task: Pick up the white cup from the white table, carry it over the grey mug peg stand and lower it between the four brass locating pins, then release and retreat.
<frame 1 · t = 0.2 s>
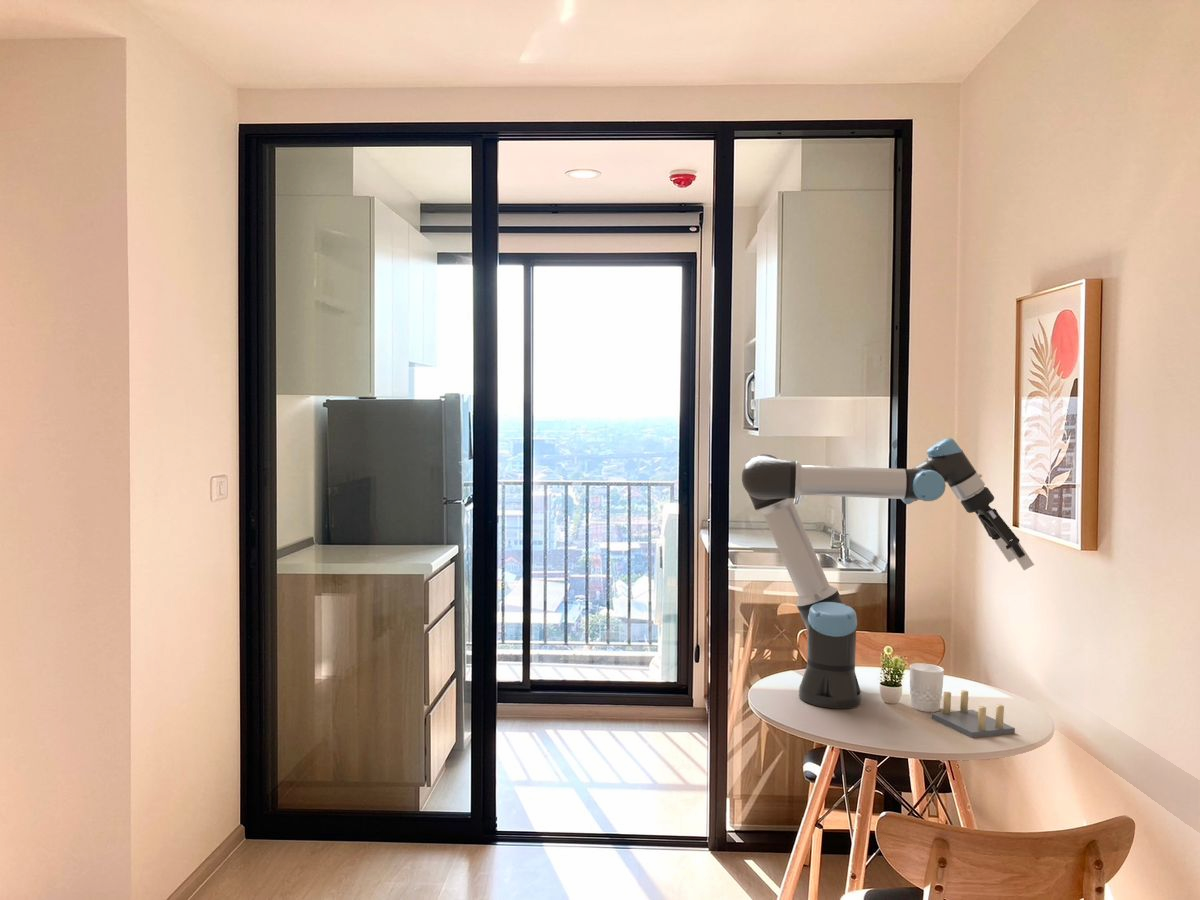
hand: (1021, 563, 212), 35 cm above the table, tool tilted 35°, fingers open, 13 cm apart
white cup: (925, 708, 205), on the table
grey mug peg stand: (972, 725, 192), on the table
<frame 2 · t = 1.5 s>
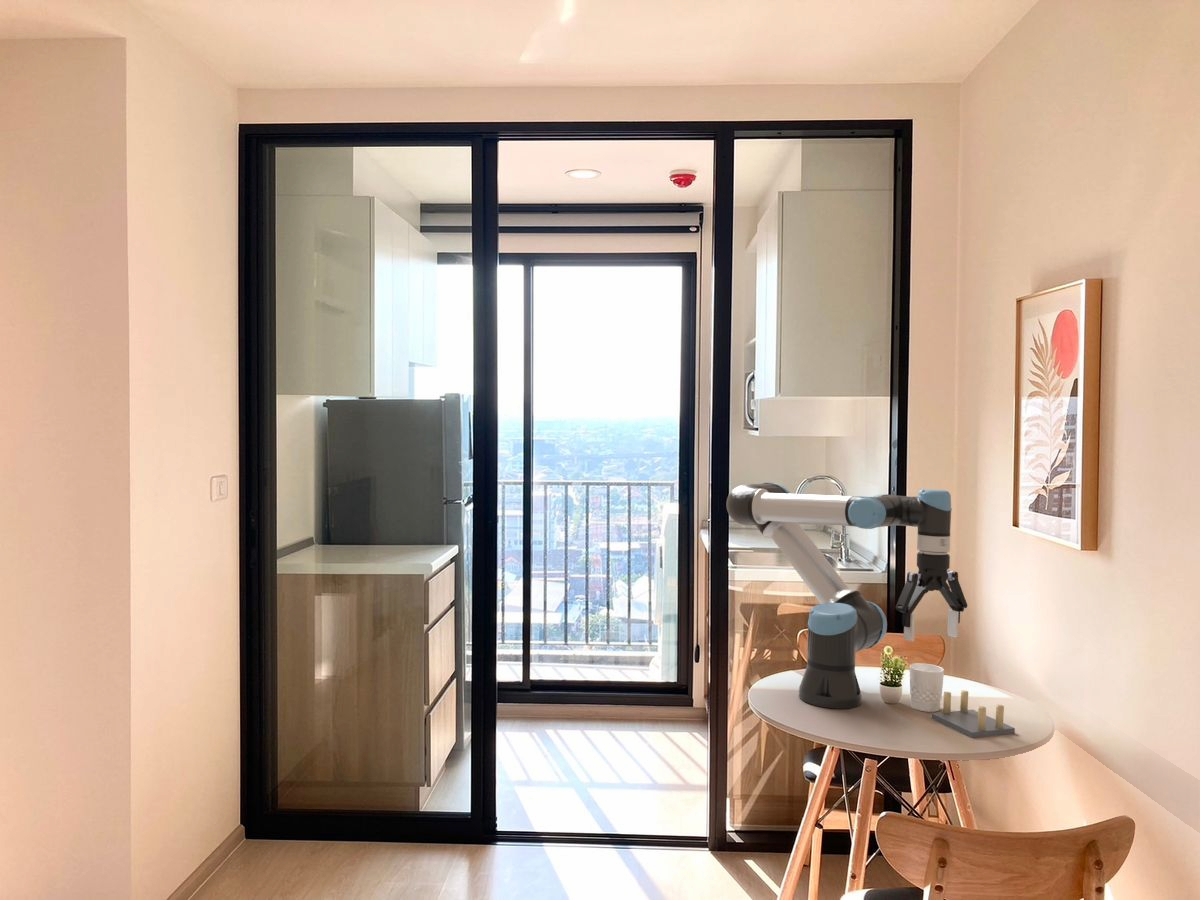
hand: (931, 638, 204), 17 cm above the table, tool pointing down, fingers open, 13 cm apart
nothing on the table moved.
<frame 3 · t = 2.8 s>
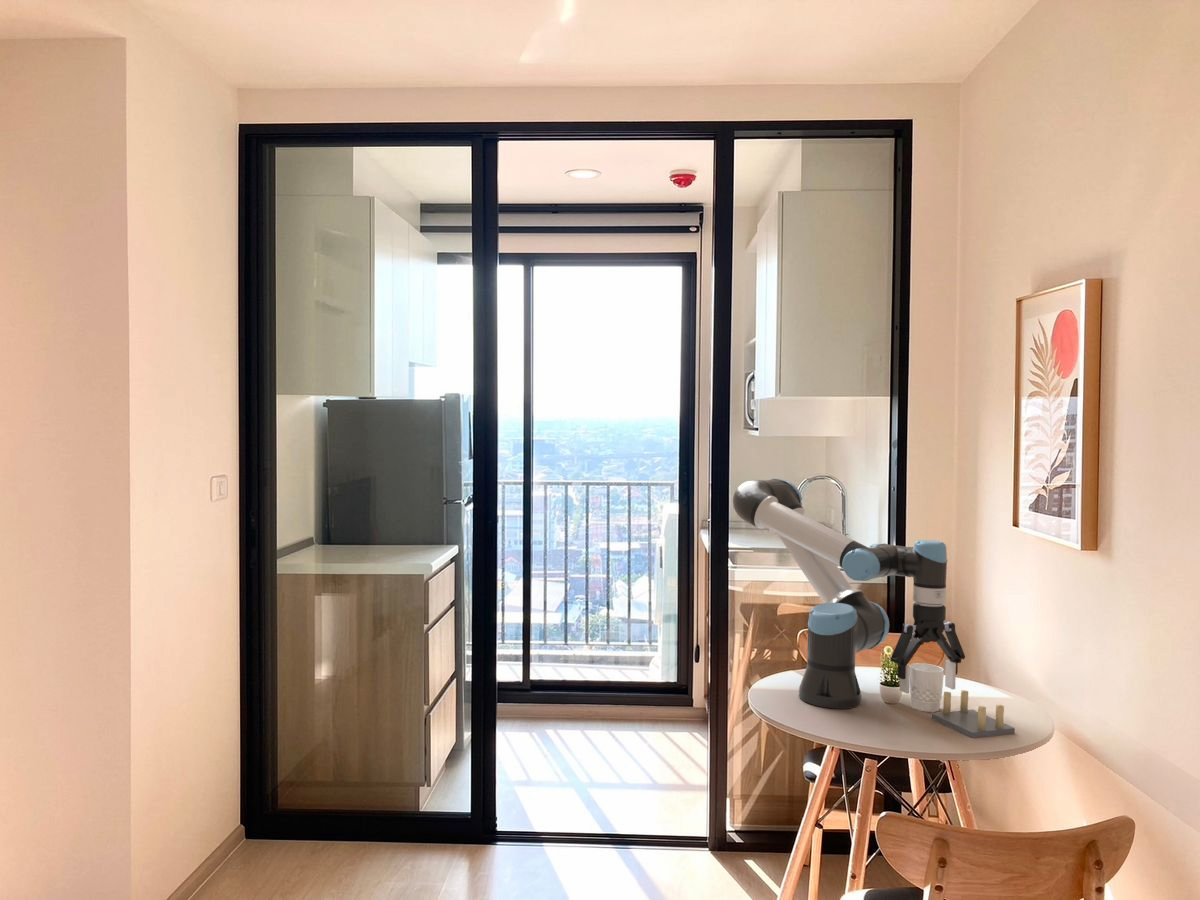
hand: (927, 689, 204), 4 cm above the table, tool pointing down, fingers open, 13 cm apart
nothing on the table moved.
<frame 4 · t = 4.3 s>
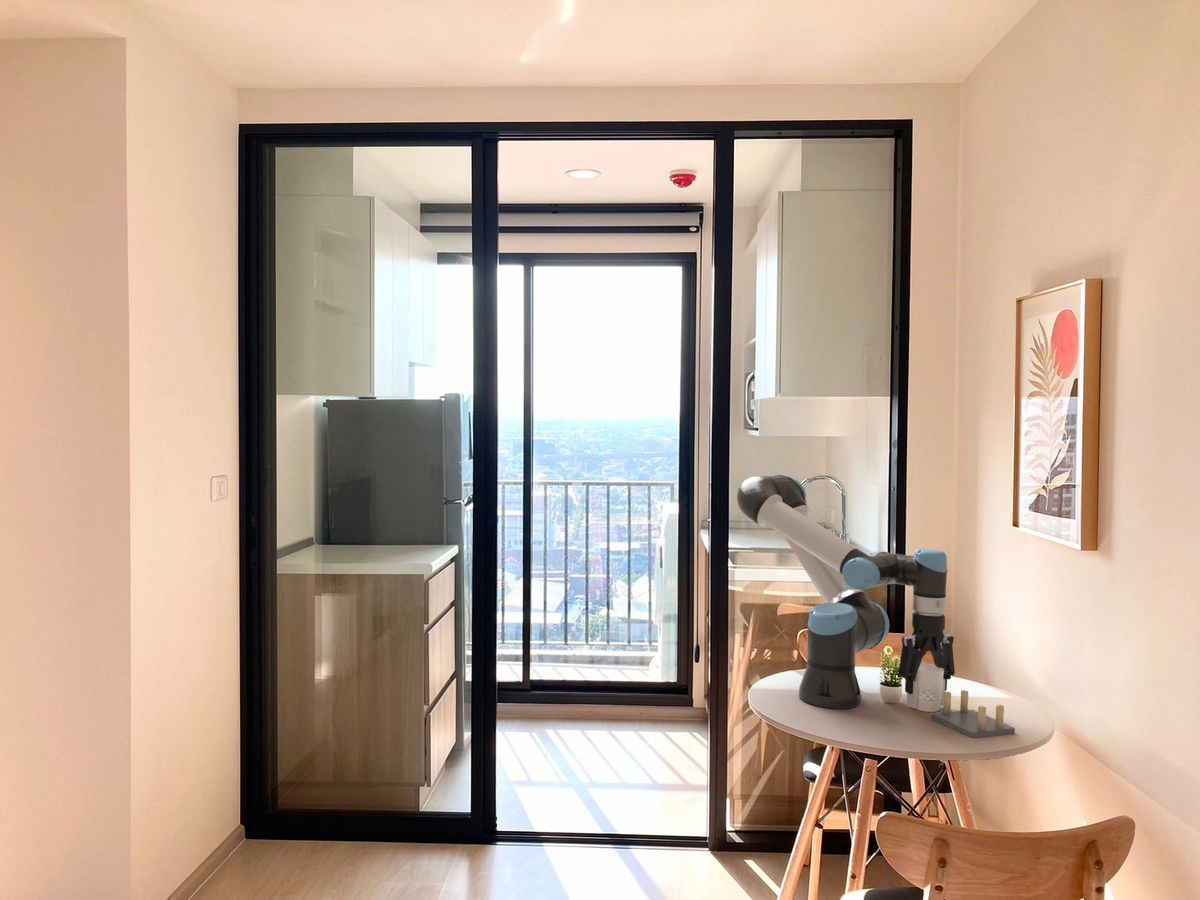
hand: (925, 705, 204), 1 cm above the table, tool pointing down, fingers closed on white cup, 8 cm apart
white cup: (925, 708, 205), on the table, touching gripper
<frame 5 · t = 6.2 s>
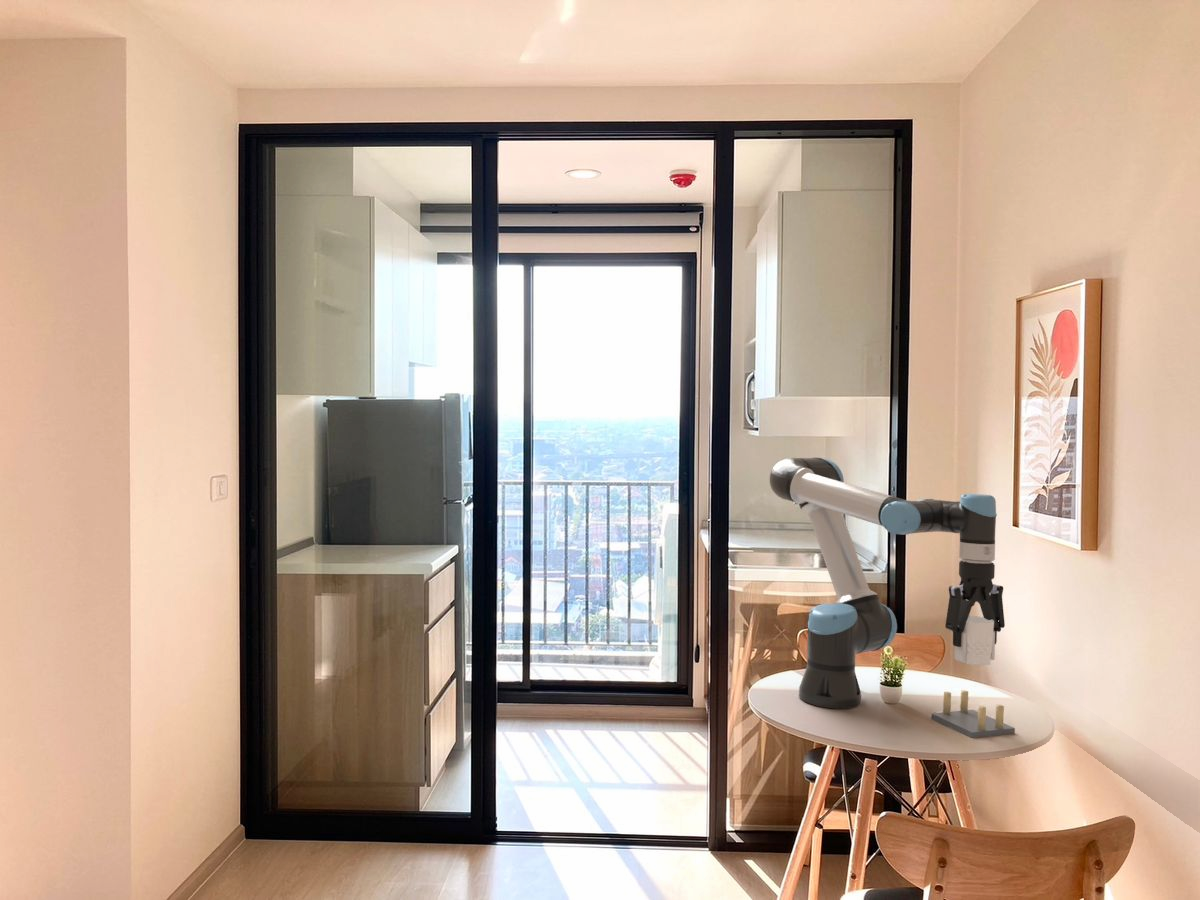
hand: (974, 659, 192), 15 cm above the table, tool pointing down, fingers closed on white cup, 8 cm apart
white cup: (974, 663, 192), point 15 cm above the table, touching gripper
when the fingers open (3 cm above the table, at t = 8.1 s): white cup drops 1 cm, resting on grey mug peg stand.
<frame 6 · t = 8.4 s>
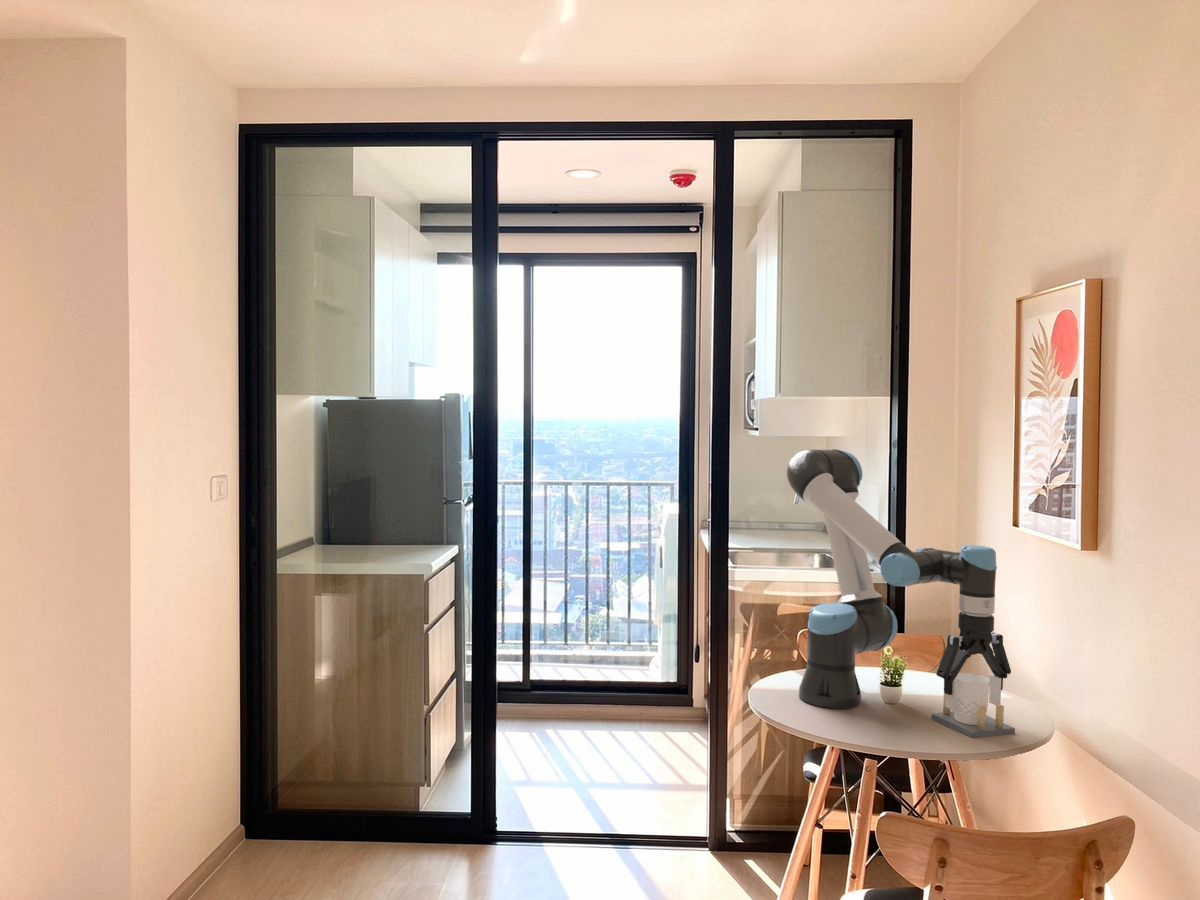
hand: (972, 706, 192), 5 cm above the table, tool pointing down, fingers open, 12 cm apart
white cup: (969, 721, 192), point 1 cm above the table, touching grey mug peg stand
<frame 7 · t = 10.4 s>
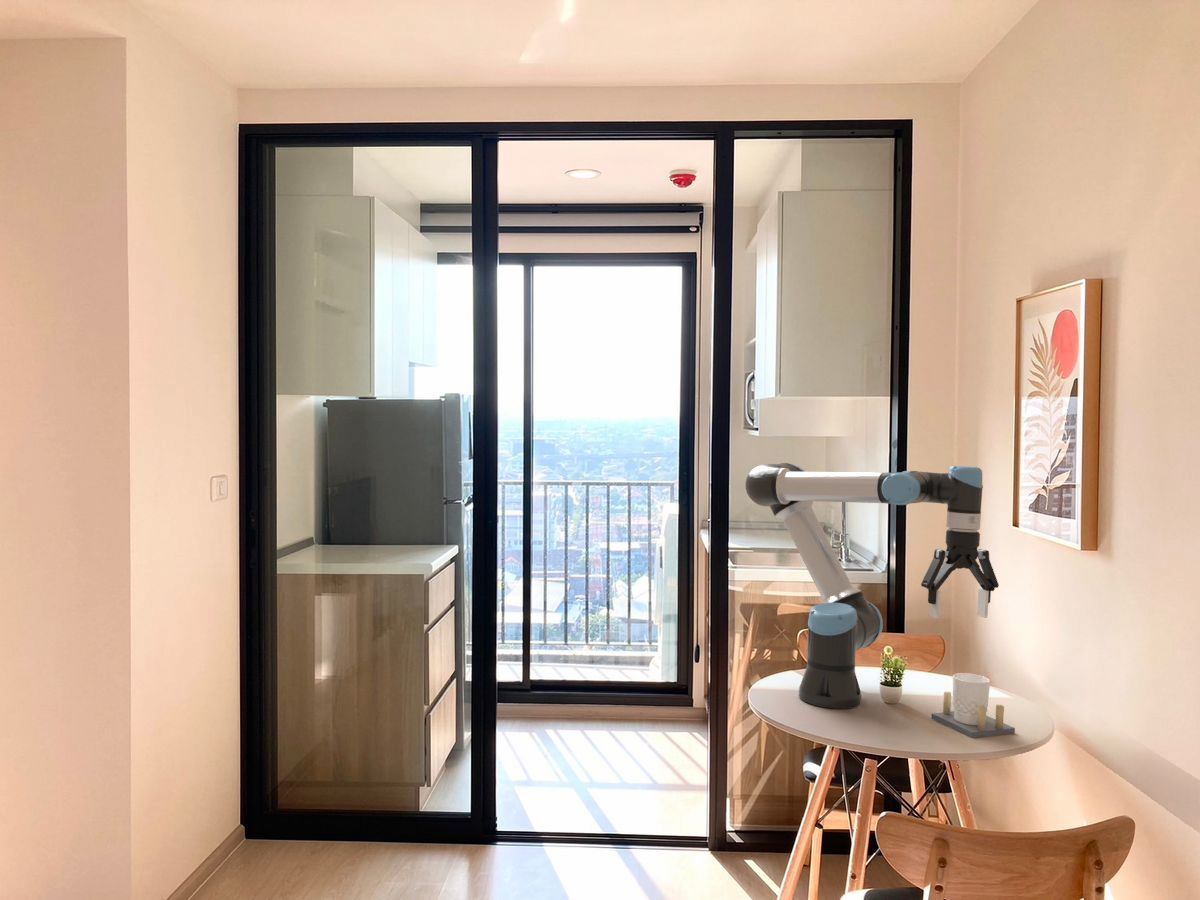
hand: (958, 617, 202), 23 cm above the table, tool pointing down, fingers open, 13 cm apart
nothing on the table moved.
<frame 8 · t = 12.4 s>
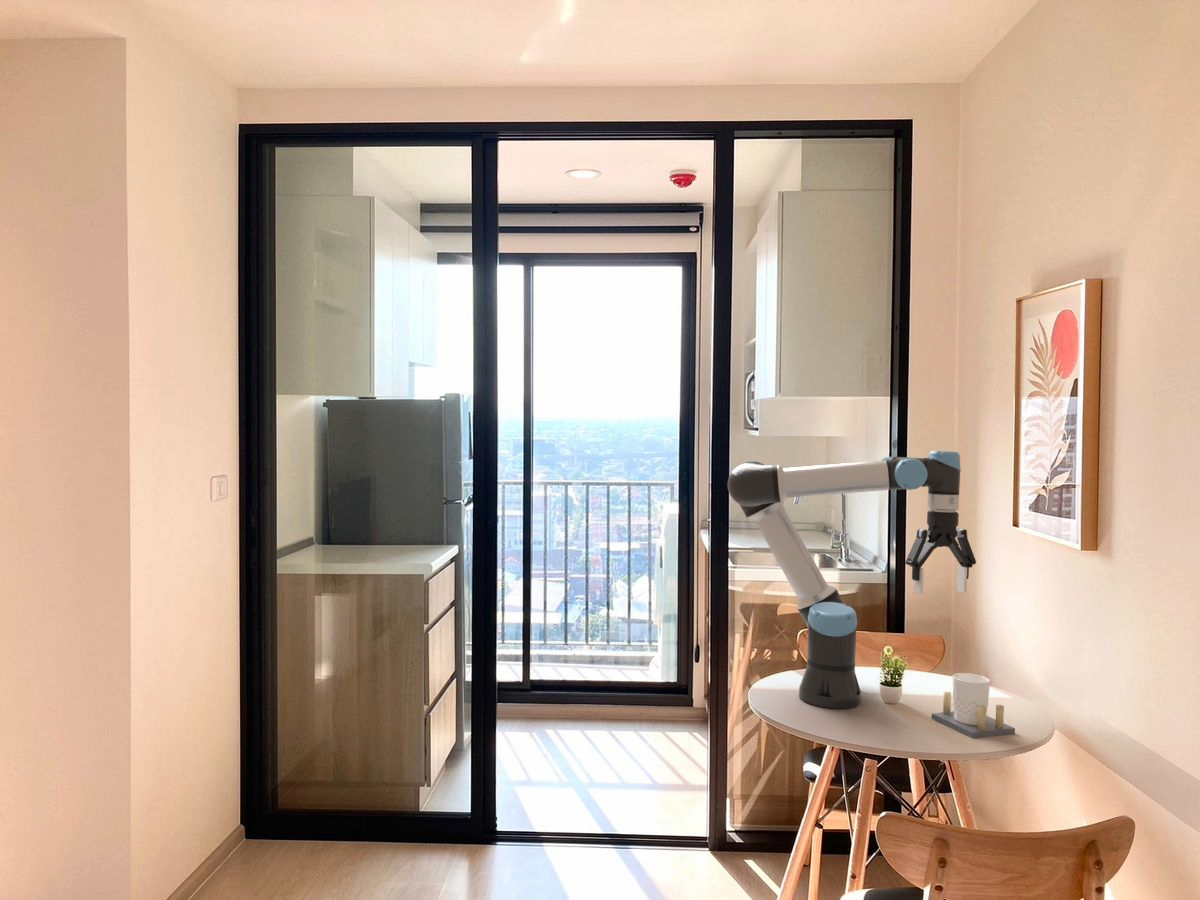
hand: (939, 592, 215), 27 cm above the table, tool pointing down, fingers open, 13 cm apart
nothing on the table moved.
at the end: white cup 0.8 cm off-centre on the grey mug peg stand, point 1.0 cm above the grey mug peg stand's base; white cup tilted 0°; the gripper is holding nothing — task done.
